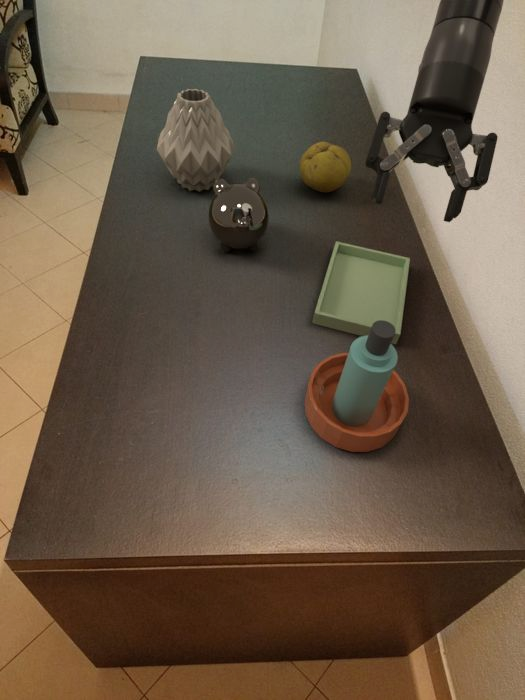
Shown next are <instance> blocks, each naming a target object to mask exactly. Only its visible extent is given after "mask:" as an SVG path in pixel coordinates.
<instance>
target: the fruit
mask: <svg viewBox="0 0 525 700" xmlns="http://www.w3.org/2000/svg"><path fill="white" fill-rule="evenodd" d="M351 169H352V162H351V158H350V155H349V154H348V152H347V151H346V149H344V148H343V147H342V146H339V145H336V144H332V143H331V142H327V141H318V142H317V143H313V144H312V145H311V146H310V147H309V148H307V150H306V151H305V152H304V153H303V154H302V157H301V159H300V160H299V172H300V178H301V180H302V182H303V183H304V184H305V185H306V186H308V187H309V188H310V189H312V190H314V191H317V192H320V193H330V192H333V191H336V190H338V189H339V188H341V187H342V186H343V185H344V184H345V183H346V182H347V180H348V178H349V175H350V173H351Z"/></svg>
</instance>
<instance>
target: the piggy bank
mask: <svg viewBox="0 0 525 700" xmlns="http://www.w3.org/2000/svg"><path fill="white" fill-rule="evenodd" d="M260 187H261V186H260V183H259V181H258V180H257V179H256V178H254V177H250V178H248V179H247V180H246V182H245V183H239V182H237V183H231V184H230V183H228V182H227V181H226V180H225V179H223V178H219V179H217V180H216V181H215V182H214V185H213V187H212V191H213V198H212V200H211V202H210V205H209V209H208V224H209V227H210V229H211V232H212V233H213V235H214V237H215V238H216V239H217V240H218V241H219V242H220V250H221V251H222V252H223V253H228V252H230V251H231V250H232V249H236V250H243V249H247V250H249V251H250V252H256V251H257V250H258V242H259V241H260V240H261V239H262V238H263V237H264V235H265V234H266V232H267V229H268V226H269V219H270V217H269V210H268V206H267V204H266V202H265V200H264V199H263V197H262V195H261V194H260V190H261V189H260Z"/></svg>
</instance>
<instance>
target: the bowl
mask: <svg viewBox="0 0 525 700" xmlns="http://www.w3.org/2000/svg"><path fill="white" fill-rule="evenodd" d="M348 353H349V352H342V353H337V354H333V355H331V356H328V357H326V358H325V359H323V360H321V361H320V362H318V364H317V365H316V366H315V368H314V369H313V370H312V371H311V373H310V377H309V381H308V385H307V388H306V393H305V397H304V402H303V403H304V412H305V417H306V418H307V420H308V422H309V425H310V427H311V429H312V430H313V431H314V433H316V434H317V435H318V437H320V438H321V439H322V440H323V441H325V442H327V443H328V444H330V445H331V446H333V447H335V448H337V449H341V450H344V451H348V452H354V453H355V452H356V453H357V452H359V453H364V452H365V453H367V452H371V451H374V450H377V449H381V448H382V447H384V446H386V445H387V444H388V443H389V442H390V441H391V440H393V439H394V438H395V435H396V433H397V432H398V430H399V429H400V427H401V425H402V423H403V421H404V420H405V418H406V416H407V414H408V412H409V404H410V403H409V402H410V397H409V394H408V390H407V386H406V385H405V384H406V383H404V381H403V380H402V378H401V377H400V375H399V374H398V373H397V372H396V371H395V369H394V370H393V372H392V374H391V376H390V378H389V380H388V383H387V385H386V387H385V389H384V391H383V393H382V395H381V397H380V400H379V402H378V404H377V406H376V408H375V410H374V412H373V414H372V416H371V418H370V420H369V421H368V422H367V423H365V424H364V425H361V426H350V425H346V424H344V423H342V422H341V421H339V420H338V419H337V418H336V416H335V415H334V413H333V411H332V401H333V398H334V395H335V392H336V389H337V386H338V383H339V380H340V377H341V374H342V371H343V368H344V365H345V362H346V359H347V356H348Z"/></svg>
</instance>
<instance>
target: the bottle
mask: <svg viewBox="0 0 525 700" xmlns="http://www.w3.org/2000/svg"><path fill="white" fill-rule="evenodd" d="M395 332H396V331H395V327H394V326H393V325H392V324H391V323H389V322H387V321H384V320H379V321H376V322H374V323H373V325H372V327H371V330H370V333H369V335H367V336H359V337H357V338H356V339H355V340H353V341H352V343H351V345H350V347H349V351H348V352H347V353H348V356H347V359H346V362H345V365H344V368H343V371H342V374H341V377H340V380H339V383H338V386H337V389H336V392H335V395H334V398H333V401H332V411H333V413H334V415H335V416H336V418H337V419H338V420H339V421H341V422H342V423H344V424H346V425H350V426H361V425H364V424H365V423H367V422H368V421H369V420H370V418H371V416H372V414H373V412H374V410H375V408H376V406H377V404H378V402H379V400H380V397H381V395H382V393H383V391H384V389H385V387H386V385H387V383H388V380H389V378H390V376H391V374H392V372H393V370H394V371H395V367H396V366H397V363H398V360H399V359H398V358H399V357H398V356H399V355H398V352H397V349H396V348H395V347H394V344H392V343H391V342H392V339H393V337H394V335H395Z"/></svg>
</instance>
